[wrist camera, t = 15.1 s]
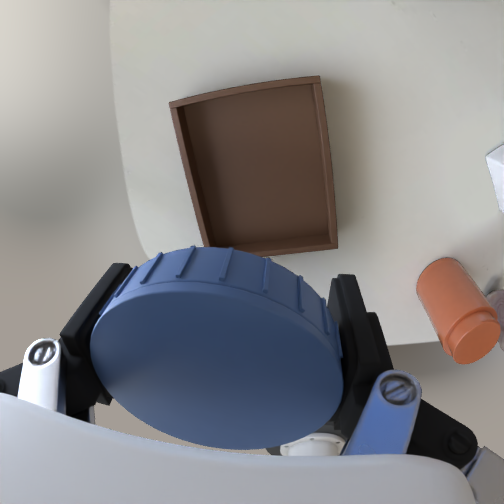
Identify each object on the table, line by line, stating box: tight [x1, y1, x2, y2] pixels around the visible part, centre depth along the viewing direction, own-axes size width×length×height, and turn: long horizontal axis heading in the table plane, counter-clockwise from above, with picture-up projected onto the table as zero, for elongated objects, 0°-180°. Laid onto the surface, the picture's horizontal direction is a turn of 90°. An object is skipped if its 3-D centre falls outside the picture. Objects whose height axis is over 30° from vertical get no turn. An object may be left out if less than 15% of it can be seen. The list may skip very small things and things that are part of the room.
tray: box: [169, 76, 338, 257], centre depth 27 cm, size 15×12×3 cm
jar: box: [416, 258, 501, 364], centre depth 27 cm, size 7×7×11 cm
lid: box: [90, 246, 344, 450], centre depth 8 cm, size 7×7×2 cm
